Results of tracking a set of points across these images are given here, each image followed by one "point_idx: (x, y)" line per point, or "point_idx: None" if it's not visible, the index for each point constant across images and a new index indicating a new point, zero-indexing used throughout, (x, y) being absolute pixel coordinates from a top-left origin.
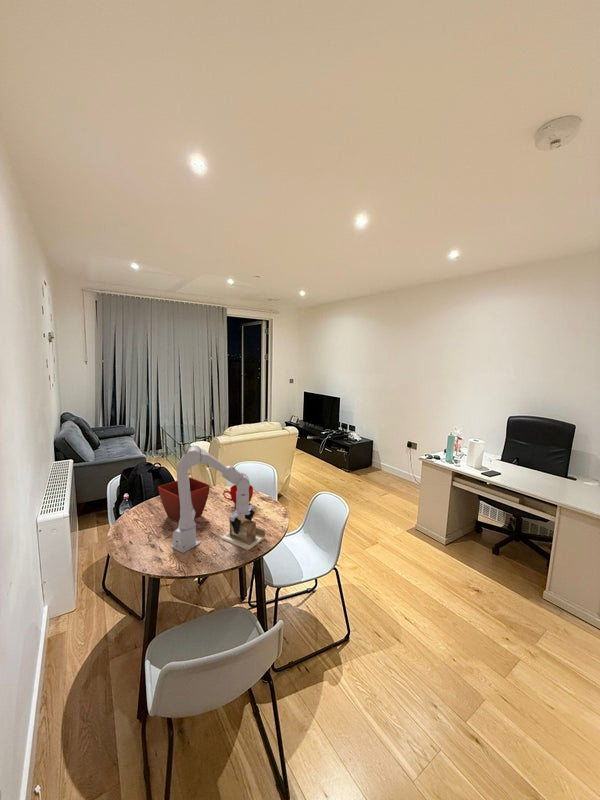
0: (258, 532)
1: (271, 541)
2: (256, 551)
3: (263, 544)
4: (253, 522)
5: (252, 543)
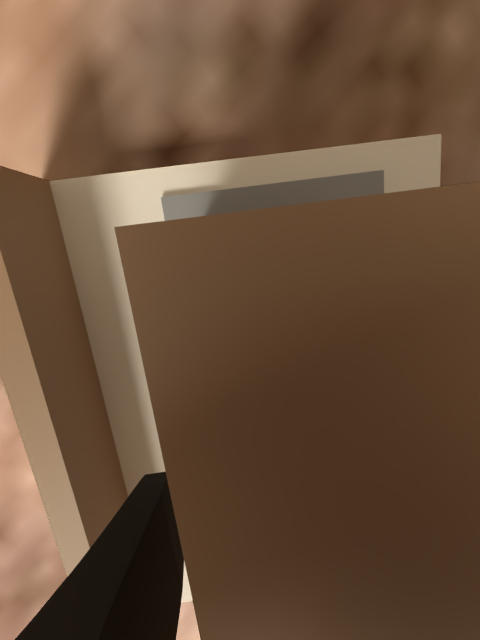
0: (62, 304)
1: (20, 25)
2: (380, 11)
3: (175, 70)
4: (265, 324)
5: (314, 177)
